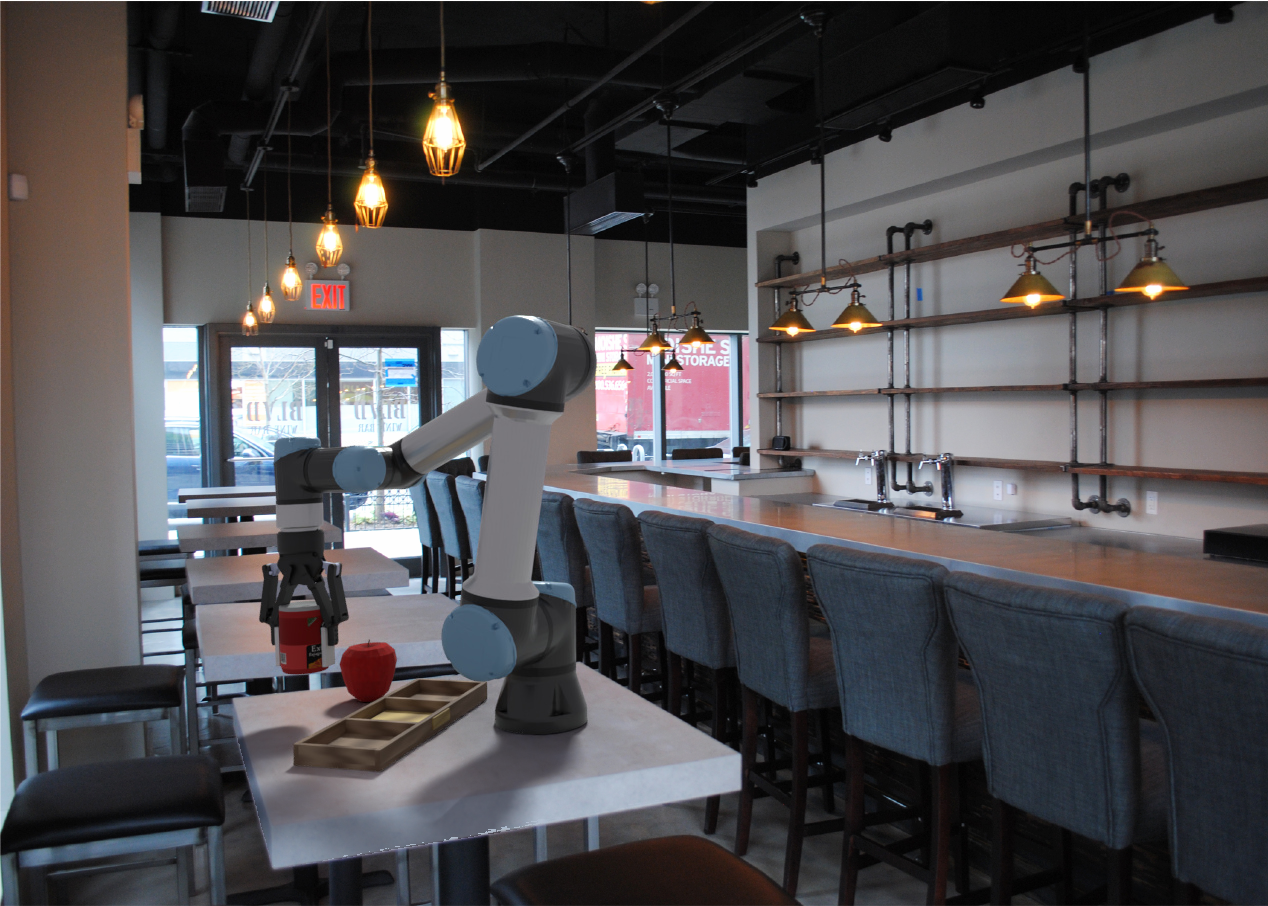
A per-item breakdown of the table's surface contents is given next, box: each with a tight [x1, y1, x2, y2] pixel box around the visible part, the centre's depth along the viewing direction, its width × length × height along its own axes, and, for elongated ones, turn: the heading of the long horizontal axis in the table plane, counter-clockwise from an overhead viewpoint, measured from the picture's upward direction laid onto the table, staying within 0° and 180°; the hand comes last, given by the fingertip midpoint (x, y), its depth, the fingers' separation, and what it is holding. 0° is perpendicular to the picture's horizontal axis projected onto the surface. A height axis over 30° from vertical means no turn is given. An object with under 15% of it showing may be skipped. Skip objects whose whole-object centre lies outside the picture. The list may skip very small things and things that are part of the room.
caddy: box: [292, 677, 488, 773], centre depth 154 cm, size 14×39×3 cm, turn 167°
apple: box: [339, 639, 398, 703], centre depth 172 cm, size 10×10×11 cm
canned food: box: [279, 600, 330, 675], centre depth 160 cm, size 8×8×11 cm
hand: (305, 664), depth 160 cm, fingers closed on canned food, 8 cm apart
